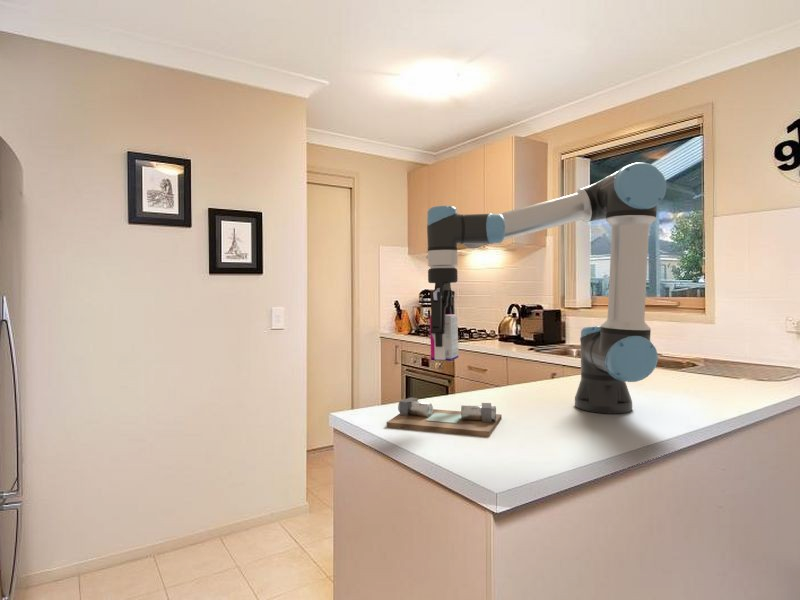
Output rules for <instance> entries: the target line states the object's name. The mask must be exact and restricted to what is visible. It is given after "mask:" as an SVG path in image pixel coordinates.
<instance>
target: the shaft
mask: <svg viewBox="0 0 800 600" xmlns="http://www.w3.org/2000/svg"><path fill="white" fill-rule="evenodd" d="M433 407H434V406H433V404H432V403H431V402H424V401H419V399H418V398H417V397H408V398H405V399H400V400H399V402H398V405H397V409H398V412H399V414H400V416H406V417H408V416H411V415H418V416H424V417H430V416H431V415H432V412H433V409H434V408H433Z"/></svg>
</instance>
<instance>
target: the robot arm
mask: <svg viewBox="0 0 800 600" xmlns="http://www.w3.org/2000/svg"><path fill="white" fill-rule="evenodd" d="M666 192H667V182H666V178H665V176H664V173H662V171H660V170H659V169H658V168H657V167H656V166H655V165H653V164H651V163H648V162H634V163H631V164H627V165H625V166H623V167H621V168H620V169H619V170H617V171H615V172H614V173H612V174H610V175H608V176H606V177H604V178H603V179H601V180H599V181H597V182H594V183H592V184H591V185H587V186H585V187H579V188H578V189H577V190H576V192H575V193H573V194H569V195H565V196H561V197H557V198H554V199H550V200H546V201H542V202H539V203H534V204H531V205H528V206H524V207H521V208H520V207H519V208H515V209H512V210H508V211H504V212H500V213H479V214H478V213H477V214H476V213H475V214H460V213H458V211H457V208H456V207H455V206H454V205H453V206H452V205H437V206H436V205H435V206H433V207H430V208H429V209H428V210H427V219H426V220H427V221H426V222H427V223H426V231H427V232H426V234H427V254H426V257H425V258H426V259H427V265H428V266H427V267H430V268H429V269H428V270H427V280H428V283H430V284H434V290H433V291H431V292H430V294H429V295H430V316H431V334H434V350H435V360H434V361H442V360H446V338H445V334H444V325H445V314H455V312H456V311H455V294H456V292H455V290H452V285H451V284H455V283H458V279H459V278H458V269H457V266H458V245H463V246H465V247H466V248H469V249H473V250H474V249H479V248H480V247H482V246H483V247H484V246H486V245H487V246H488V245H493V244H501V243H503V241H505V240H510V239H513V238H517V237H520V236H524V235H525V236H526V235H529V234H533V233H536V232H540V231H545V230H548V229H551V228H555V227H560V226H563V225H567V224H571V223H575V222H579V221H582V222H585V223H589V222H594V221H598V220H605V221H606V222H607V223H608V225H610V227H611V238H610V239H611V240H610V241H611V242H610V261H609V262H610V263H609V283H608V300H607V301H608V305H607V318H606V320H605V321H604V322H603V323H602V324H601V325H598V326H585V327H583V328H581V330H580V338H579V342H580V381H579V384H578V387H577V390H576V394H575V397H574V406H575V407H576V408H577V409H580V410H582V411H586V412H591V413H599V414H625V413H629V412H631V411H633V400H632V398H631V397H632V396H631V394H630V391H629V389H628V385H627V383H626V382H628V383H637V382H640V381H642V380H644V379H646V378H648V377H649V376H650V375H651V374H652V373H653V371H655V370H656V369H655V368H656V367H657V364H658V359H659V357H658V356H659V355H658V351H657V348H656V346H655V345H654V343H652V341H651V331H652V330H651V327H650V326H649V325H648V324H647V322H646V321H645V316H646V315H645V314H646V313H645V311H646V296H647V295H646V294H647V293H646V291H647V275H648V273H647V272H648V253H649V236H650V235H649V232H650V226H651V225H652V224H653V223H654V222H655V221H656V220H657V212H658V211H657V209H658V205H659V204H660V203H661V202H662V200H663V199H664V198H665V196H666V194H667V193H666Z"/></svg>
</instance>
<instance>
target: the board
mask: <svg viewBox="0 0 800 600" xmlns="http://www.w3.org/2000/svg"><path fill="white" fill-rule="evenodd" d="M502 418H503V417H502V414H501V413H496V421H492V423H482V420H461V410H446V409H435V408H433V412H432V415H431V416H430V417H424V416H418V415H411V416H408V417H406V416H400V413H398V414H397V415H396V416H394V417H393V418H391V419H389V420H388V421H387V422H386V428H392V429H393V428H394V429H403V430H415V431H425V432H433V433H434V432H436V433H446V434H455V435H458V434H459V435H468V436H475V437H476V436H478V437H487V438H488V437H489V438H490V437H491V435H492V434H493V432H494V431H495V429H496V428H497V426H498V425H499V424H500V422H501V420H502Z"/></svg>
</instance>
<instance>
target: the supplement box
mask: <svg viewBox="0 0 800 600" xmlns="http://www.w3.org/2000/svg"><path fill="white" fill-rule="evenodd" d="M458 324H459V323H458V314H445V325H444V334H445V338H446V360H441V361H446V362H453V361H454V360H457V359H458V358H459V335H458V334H459V331H458V330H459V329H458V327H459V326H458ZM429 335H430V339H429V340H430V341H429V342H430V361H436V360H435V350H434V334H431V315H429Z"/></svg>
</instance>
